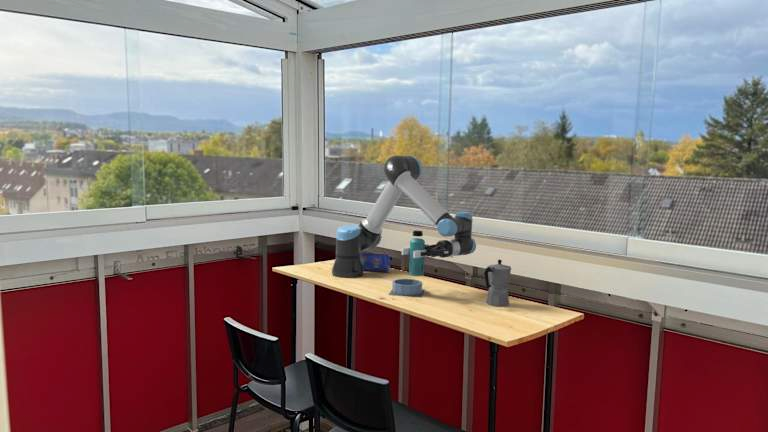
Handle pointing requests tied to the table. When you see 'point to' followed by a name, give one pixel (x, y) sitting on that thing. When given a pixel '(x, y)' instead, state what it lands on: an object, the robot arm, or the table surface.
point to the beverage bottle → (418, 263)
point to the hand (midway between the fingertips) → (408, 253)
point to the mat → (408, 296)
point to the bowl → (407, 287)
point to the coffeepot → (497, 284)
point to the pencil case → (375, 262)
